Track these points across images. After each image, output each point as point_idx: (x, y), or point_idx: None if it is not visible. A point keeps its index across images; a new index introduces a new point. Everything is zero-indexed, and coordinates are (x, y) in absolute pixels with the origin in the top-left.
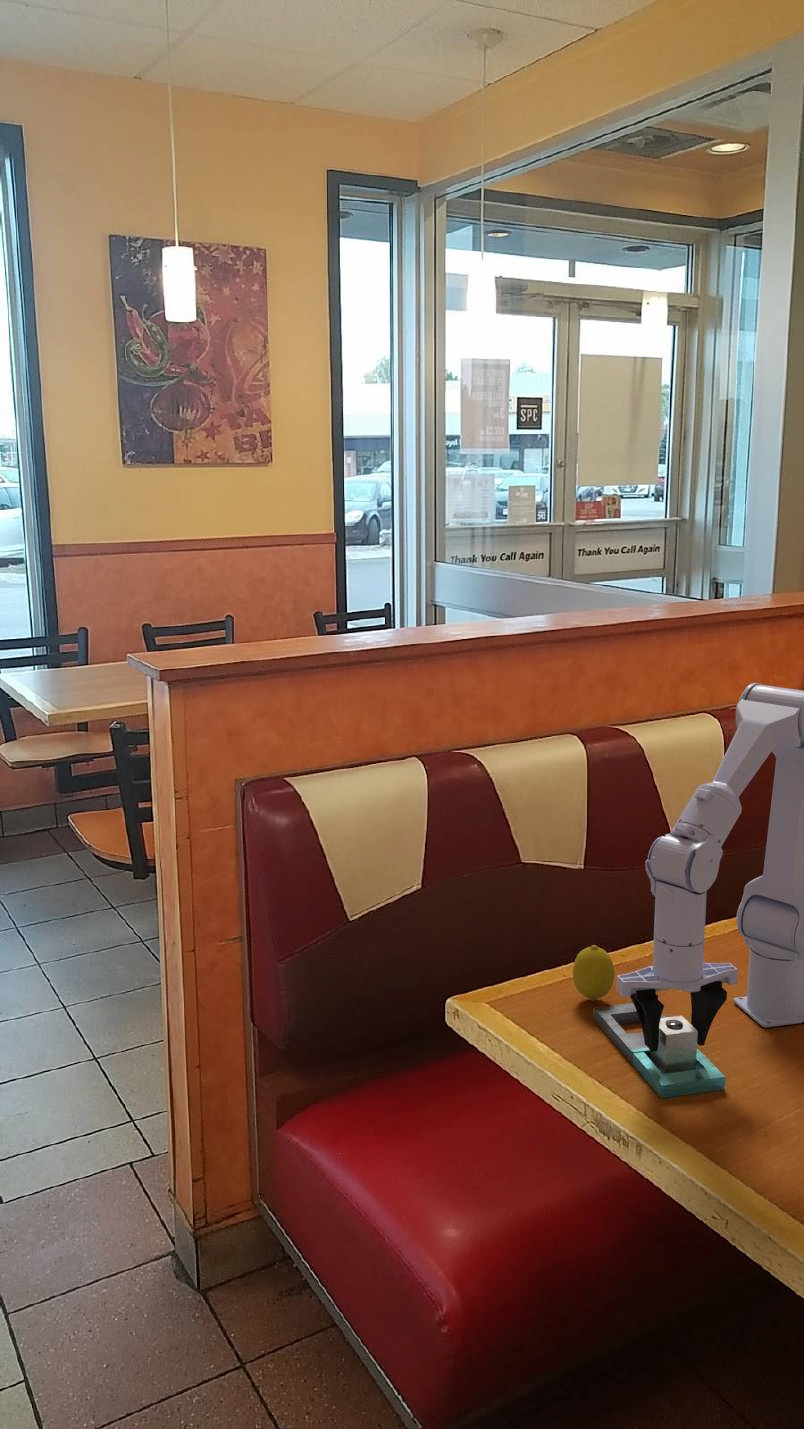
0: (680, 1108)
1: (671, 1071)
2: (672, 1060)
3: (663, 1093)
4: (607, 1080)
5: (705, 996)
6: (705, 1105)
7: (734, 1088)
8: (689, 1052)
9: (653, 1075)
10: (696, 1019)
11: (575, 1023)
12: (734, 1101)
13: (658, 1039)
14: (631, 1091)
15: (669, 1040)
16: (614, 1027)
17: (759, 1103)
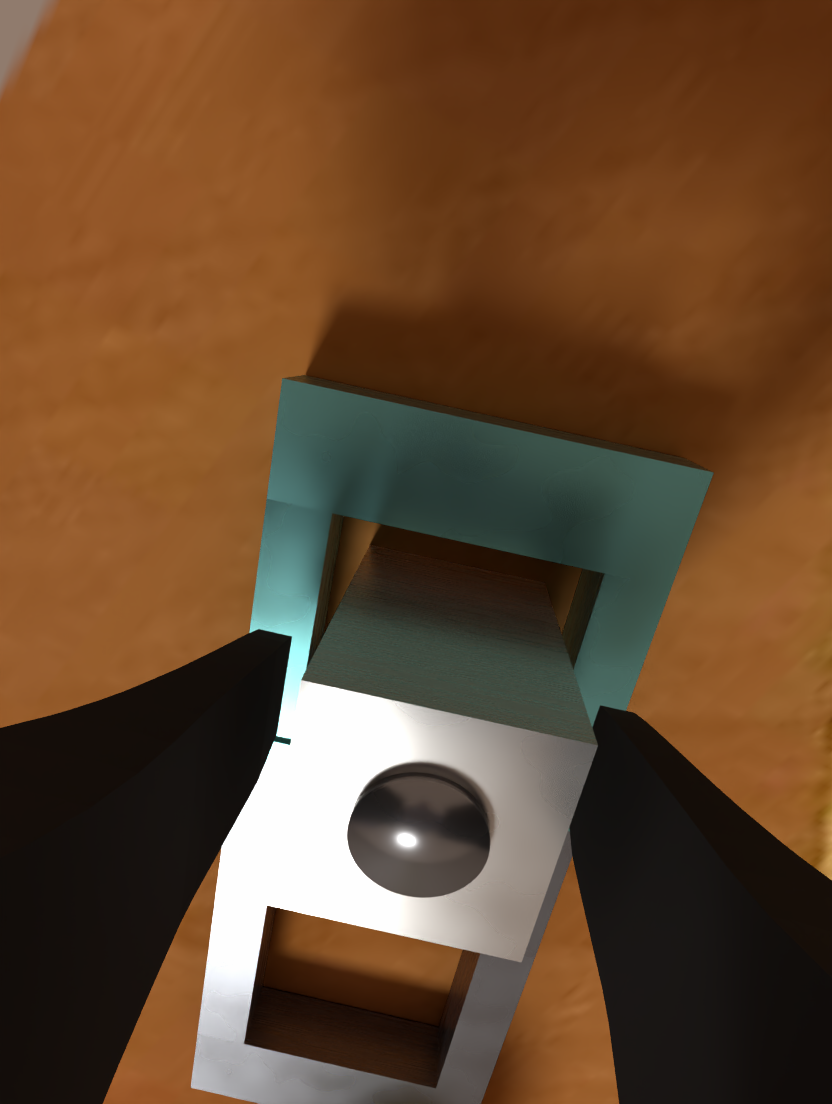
0: (664, 322)
1: (510, 594)
2: (513, 621)
3: (679, 459)
4: (789, 715)
5: (17, 979)
6: (513, 283)
7: (248, 360)
8: (392, 614)
9: (668, 585)
10: (214, 802)
11: (553, 1093)
12: (333, 242)
13: (638, 748)
14: (765, 584)
15: (557, 706)
16: (496, 1009)
17: (212, 153)
